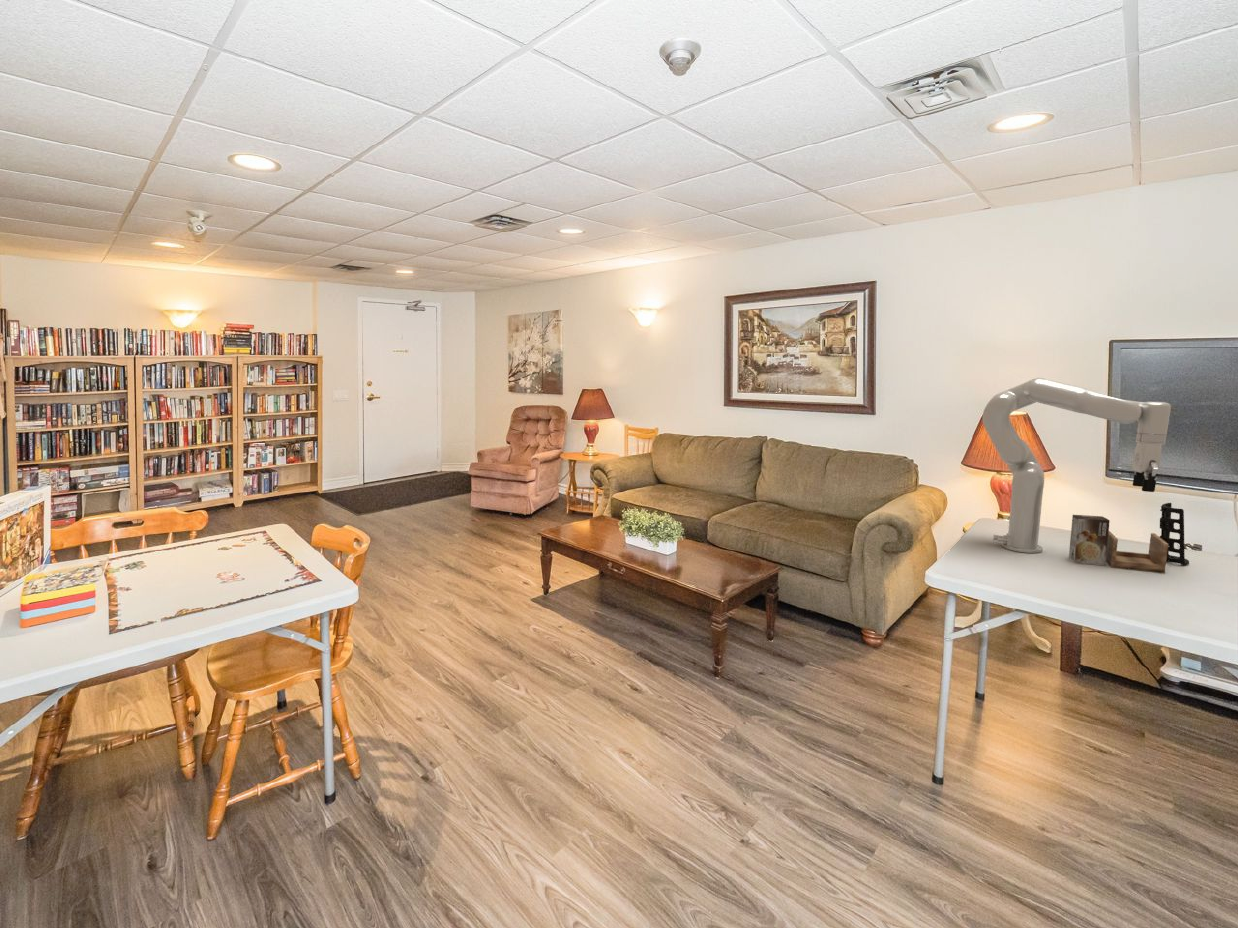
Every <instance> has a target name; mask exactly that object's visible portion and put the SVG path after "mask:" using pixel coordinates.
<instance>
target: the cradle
mask: <svg viewBox="0 0 1238 928" xmlns="http://www.w3.org/2000/svg"><path fill="white" fill-rule="evenodd" d="M1118 542H1119V538H1117V537H1116V536H1115V535H1114V534H1113V533H1112V532H1111V530H1109V533H1108V544H1107V555H1106V563H1107V564H1108V566H1109V567H1110V568H1113V569H1120V570H1121V569H1123V570H1131V571H1139V572H1140V571H1141V572H1148V573H1149V572H1150V573H1158V574H1165V572H1166V565H1167V564H1166V563H1167V561H1166V558H1167V551H1168V543H1166V542H1165V541H1164V540H1163V539H1161V538H1160V536H1159V535H1158V534H1157V533H1154V532H1152V533H1150V538H1149V545H1148V546H1149V547H1148V553H1143V552H1142V553H1141V552H1131V551H1123V550H1118Z"/></svg>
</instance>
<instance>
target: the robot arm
mask: <svg viewBox="0 0 1238 928" xmlns="http://www.w3.org/2000/svg"><path fill="white" fill-rule="evenodd" d="M1035 403H1037V404H1039V403H1040V404H1043V405H1047V406H1050V407H1054V408H1059V409H1063V410H1067V411H1070V412H1074V413H1077V414H1082V415H1083V414H1084V415H1087V416H1092V417H1096V418H1099V419H1104V420H1106V421H1112V422H1113V423H1118V424H1124V425H1128V424H1132V423H1133V424H1134V423H1135V422H1138V425H1137V430H1136V437H1135V443H1136V446H1135V450H1134V453H1133V459H1132V464H1131V465H1132V466H1131V468H1132V470H1134V474H1133V480H1132V486H1133V487H1140V488H1141V487H1142V488H1141V491H1142V492H1144V493H1145V492H1147V493H1155V491H1156V484H1157V479H1158V478H1157V476H1158V473H1159V472H1160V466H1161V460H1162V447H1163V446H1164V445H1166V442H1167V441H1166V440H1167V434H1168V431H1169V430H1168V429H1169V428H1168V427H1169V421H1170V417H1171V416H1170V415H1171V408H1172V405H1171V404H1170V403H1168V402H1165V401H1145V402H1144V401H1135V400H1129V399H1122V398H1116V397H1113V396H1108V395H1105V394H1101V393H1098V392H1095V391H1092V390H1089V389H1087V388H1084V387H1080V386H1076V385H1071V384H1067V383H1062V382H1058V381H1054V380H1050V379H1046V378H1042V377H1035V378H1032V379H1030V380H1028V381H1025V382H1024V383H1021V384H1019V385H1016V386H1014V387H1012V388H1011V387H1010V388H1009V389H1007V390H1003V391H1001V392H999V393H996V394H995V395H994V396H992V398H991V399H990V400H989V401H988V402H987V404H986V405H985V406H984V409H983V411H982V424H983V427H984V429H985V431H986V433H987V435H988V437H989V439H990V441H991V443H992V444H993V446H994V448H995V450H996V452H997V454H998V456H999V458H1000V459H1001V460H1002V462H1004V463H1005V464H1006V466H1007V468H1008V469H1009V471H1010V473H1011V474H1012V480H1011V481H1012V483H1011V496H1010V508H1009V510H1010V511H1009V520H1008V533H1006V534H1003V535H997V534H993V539H992V540H993V541H997V542H1002V544H1001V546H1002V547H1003V548H1004V549H1007V550H1009V551H1013V552H1019V553H1026V554H1027V553H1028V554H1038V553H1041V552H1042V551H1043V547H1042V546H1041V545H1040V544H1038V543H1039V535H1040V525H1041V515H1042V505H1043V503H1042V502H1043V496H1044V494H1043V493H1044V487H1045V472H1044V469H1043V468H1042V466H1041V464H1040V462H1039V461H1038V459H1037V458H1036V456H1035V454H1034V452H1033V450H1032V449H1031V448H1030V447H1031V446H1029V444H1028V443H1027V442H1026V441H1025V439H1022V438H1021V437H1020V436H1019V434H1018V432H1017V431H1016V429H1015V427H1014V426H1013V423H1012V422H1011V420H1010V416H1011V414H1012V413H1013V412H1015V411H1017V410H1020V409H1024V408H1025V407H1028V406H1031V405H1033V404H1035ZM1162 445H1163V446H1162Z"/></svg>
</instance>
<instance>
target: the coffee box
mask: <svg viewBox="0 0 1238 928" xmlns="http://www.w3.org/2000/svg"><path fill="white" fill-rule="evenodd" d="M1071 517H1072V519H1071V528H1070V529H1071V530H1070V540H1069V541H1070V542H1069V551H1068V559H1069V560H1071V561H1072V562H1073V563H1074V564H1083V565H1098V566H1106V563H1107V562H1106V555H1107V544H1108V533H1109V531H1110V522H1111V521H1110V520H1109V519H1108V518H1106V517H1105V516H1101V515H1088V514H1087V515H1085V514H1072V516H1071Z"/></svg>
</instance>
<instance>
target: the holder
mask: <svg viewBox="0 0 1238 928" xmlns="http://www.w3.org/2000/svg"><path fill="white" fill-rule="evenodd" d="M1160 507H1161V508H1160V512H1161V517H1160V518H1159V529H1161V532H1160V534H1161V535H1160V536H1159V537H1160V538H1161V539H1163V540H1164V541H1165V542H1166V543H1168V551H1167V558H1166V562H1170V563H1174V564H1180V565H1181V566H1183V567H1186V566H1188V565H1189V564H1190V560H1189V559H1188V558H1185V512H1184V511H1185V510H1184V509H1183V508H1176V507H1175V508H1174V507H1172V502H1166V503H1163V504H1162V505H1161V506H1160ZM1172 513H1174V514H1177V515H1179V518H1172ZM1175 524H1178V525H1179V526H1178V527H1179V528H1175ZM1171 533H1175V534H1178V535H1179V539H1178V538H1173V537H1171ZM1175 543H1176V544H1179V548H1176V547H1175ZM1169 552H1172V553H1176V554H1179V556H1178V555H1177V556H1176V555H1172V554H1170V553H1169Z"/></svg>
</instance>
